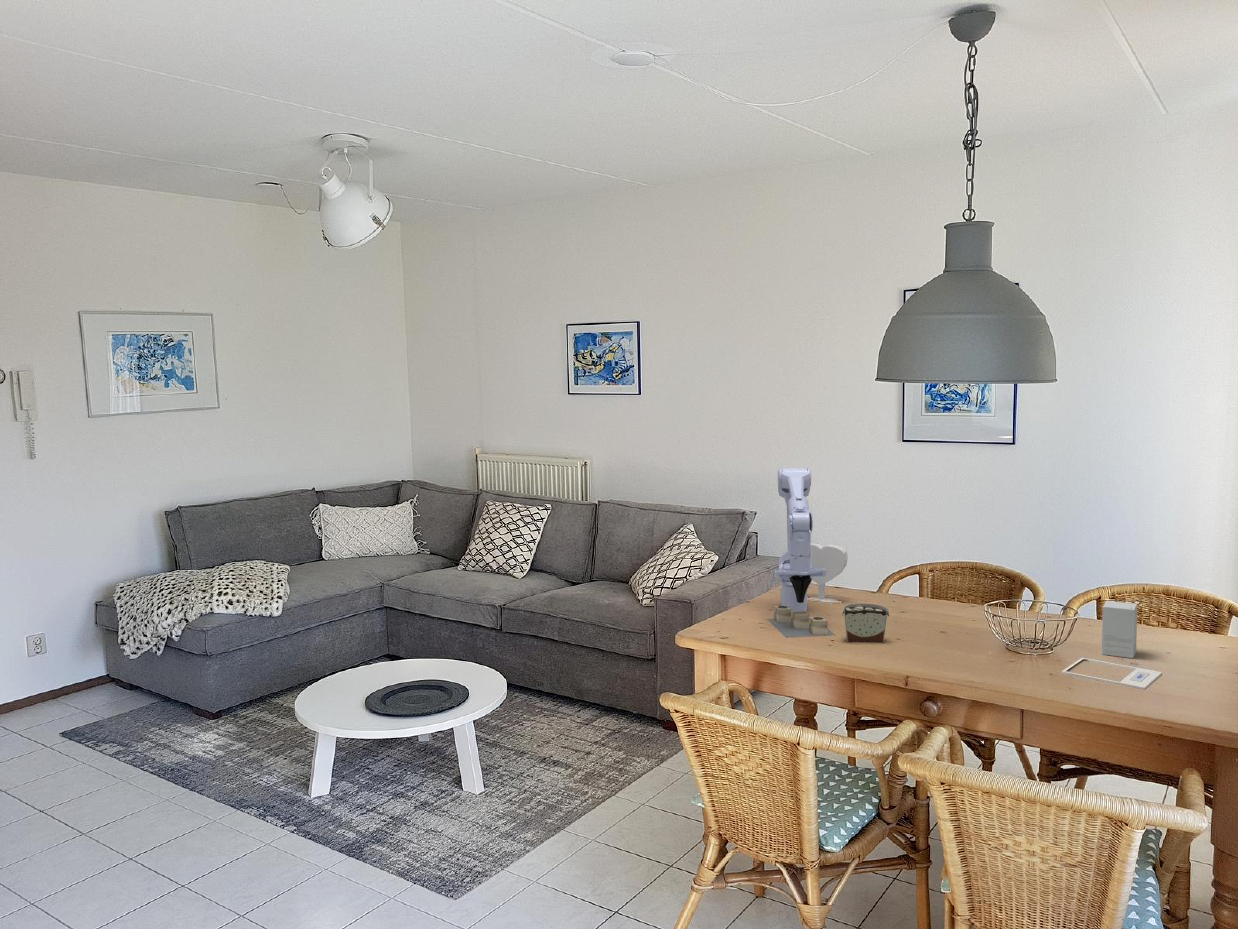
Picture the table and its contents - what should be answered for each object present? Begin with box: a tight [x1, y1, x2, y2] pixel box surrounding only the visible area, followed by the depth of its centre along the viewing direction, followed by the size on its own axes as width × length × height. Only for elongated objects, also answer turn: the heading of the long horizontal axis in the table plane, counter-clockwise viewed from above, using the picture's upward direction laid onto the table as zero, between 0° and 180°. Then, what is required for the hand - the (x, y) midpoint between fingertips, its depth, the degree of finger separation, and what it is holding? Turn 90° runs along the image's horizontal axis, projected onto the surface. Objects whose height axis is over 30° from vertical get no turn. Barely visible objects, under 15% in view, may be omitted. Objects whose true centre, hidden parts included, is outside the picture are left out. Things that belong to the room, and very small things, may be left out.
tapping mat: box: [766, 617, 836, 639], centre depth 270 cm, size 20×14×1 cm
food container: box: [841, 603, 890, 644], centre depth 256 cm, size 12×6×10 cm, turn 84°
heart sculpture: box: [808, 542, 849, 603], centre depth 302 cm, size 16×5×18 cm, turn 61°
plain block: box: [791, 611, 810, 629], centre depth 269 cm, size 4×4×4 cm
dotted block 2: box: [809, 616, 829, 635], centre depth 263 cm, size 4×4×4 cm
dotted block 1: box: [773, 605, 792, 623], centre depth 276 cm, size 4×4×4 cm
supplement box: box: [1101, 600, 1138, 659], centre depth 243 cm, size 7×7×13 cm
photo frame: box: [1061, 657, 1163, 690], centre depth 227 cm, size 15×1×18 cm
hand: (800, 602), depth 269 cm, fingers closed
